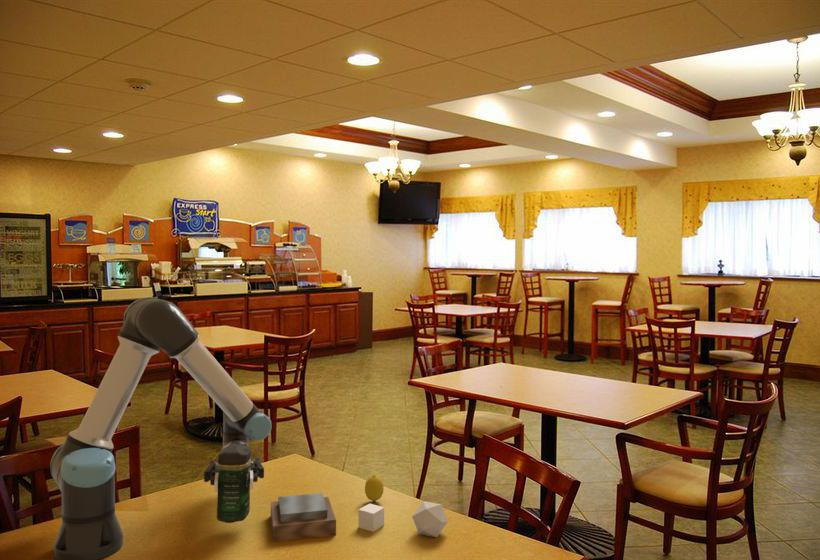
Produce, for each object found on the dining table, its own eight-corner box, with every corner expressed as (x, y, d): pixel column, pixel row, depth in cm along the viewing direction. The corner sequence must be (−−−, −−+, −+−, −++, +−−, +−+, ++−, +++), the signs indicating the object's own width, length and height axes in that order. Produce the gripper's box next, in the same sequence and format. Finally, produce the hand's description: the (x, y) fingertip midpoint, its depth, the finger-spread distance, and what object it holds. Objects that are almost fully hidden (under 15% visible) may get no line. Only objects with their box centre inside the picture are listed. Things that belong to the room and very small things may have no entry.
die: (451, 533, 165) (438, 497, 169) (451, 529, 157) (436, 492, 161) (423, 545, 164) (410, 509, 168) (421, 542, 156) (407, 504, 161)
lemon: (362, 504, 181) (362, 477, 181) (368, 497, 187) (368, 471, 186) (379, 506, 180) (379, 479, 180) (386, 499, 185) (386, 473, 185)
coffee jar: (244, 524, 158) (245, 452, 157) (213, 524, 157) (214, 451, 157) (253, 509, 167) (254, 441, 167) (223, 509, 167) (224, 440, 167)
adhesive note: (373, 532, 163) (373, 513, 163) (358, 527, 166) (358, 509, 166) (384, 525, 168) (384, 507, 167) (369, 521, 170) (369, 503, 170)
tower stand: (273, 541, 157) (273, 518, 157) (270, 516, 173) (270, 494, 172) (336, 534, 161) (336, 512, 161) (328, 510, 177) (328, 489, 177)
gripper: (272, 467, 182) (275, 496, 160) (197, 472, 177) (190, 503, 155) (272, 442, 182) (276, 467, 160) (197, 446, 177) (190, 473, 155)
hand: (233, 485), depth 158 cm, fingers closed on coffee jar, 8 cm apart
